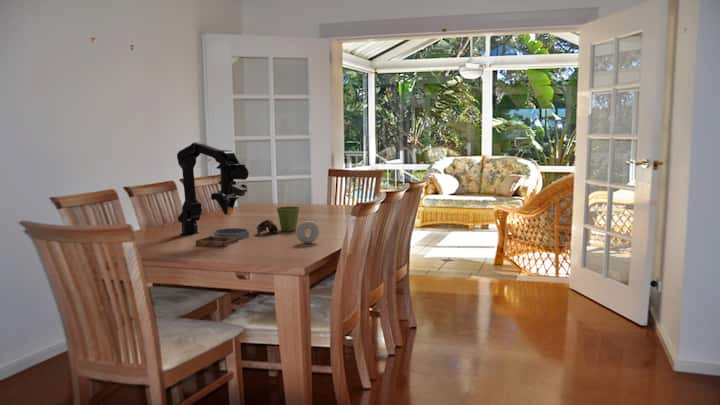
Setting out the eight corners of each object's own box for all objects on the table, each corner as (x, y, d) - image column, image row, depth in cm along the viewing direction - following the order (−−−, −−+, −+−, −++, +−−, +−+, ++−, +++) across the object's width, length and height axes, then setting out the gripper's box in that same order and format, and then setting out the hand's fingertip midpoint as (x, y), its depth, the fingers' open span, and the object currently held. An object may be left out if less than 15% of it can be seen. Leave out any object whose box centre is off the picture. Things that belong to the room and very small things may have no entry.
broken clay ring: (278, 237, 277) (269, 223, 274) (261, 246, 279) (252, 231, 276) (283, 227, 288) (274, 213, 285) (266, 235, 290) (257, 221, 287)
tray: (196, 245, 255) (195, 240, 255) (210, 241, 266) (210, 236, 265) (224, 247, 251) (224, 242, 251) (238, 242, 261) (238, 238, 261)
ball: (222, 215, 267) (221, 206, 266) (226, 214, 271) (226, 205, 270) (230, 216, 266) (229, 207, 265) (234, 214, 270) (234, 206, 269)
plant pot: (297, 227, 302) (297, 205, 300) (302, 231, 291) (302, 208, 289) (274, 229, 298) (273, 206, 297) (278, 232, 287) (278, 209, 286)
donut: (297, 244, 257) (297, 221, 256) (295, 243, 260) (295, 220, 259) (320, 243, 261) (319, 220, 260) (317, 241, 264) (317, 219, 263)
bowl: (207, 239, 268) (207, 232, 268) (226, 234, 283) (225, 227, 282) (237, 242, 263) (237, 234, 263) (254, 236, 278) (254, 229, 277)
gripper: (232, 181, 255) (233, 217, 257) (253, 177, 273) (254, 211, 274) (209, 180, 258) (211, 216, 260) (231, 177, 276) (232, 210, 278)
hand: (228, 213), depth 268 cm, fingers closed on ball, 4 cm apart
